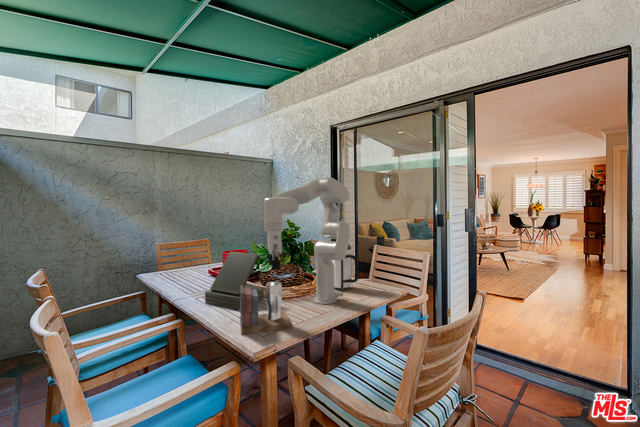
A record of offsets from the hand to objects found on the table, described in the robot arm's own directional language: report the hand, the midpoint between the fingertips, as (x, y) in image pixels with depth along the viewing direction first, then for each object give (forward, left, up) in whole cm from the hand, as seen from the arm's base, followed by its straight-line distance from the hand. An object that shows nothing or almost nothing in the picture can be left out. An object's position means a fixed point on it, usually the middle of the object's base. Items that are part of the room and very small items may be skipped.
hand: (274, 267), depth 126 cm
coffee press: (-47, -40, -24) cm, 66 cm away
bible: (+16, -36, -25) cm, 47 cm away
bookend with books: (+4, 0, -24) cm, 25 cm away
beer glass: (0, 0, -22) cm, 22 cm away
